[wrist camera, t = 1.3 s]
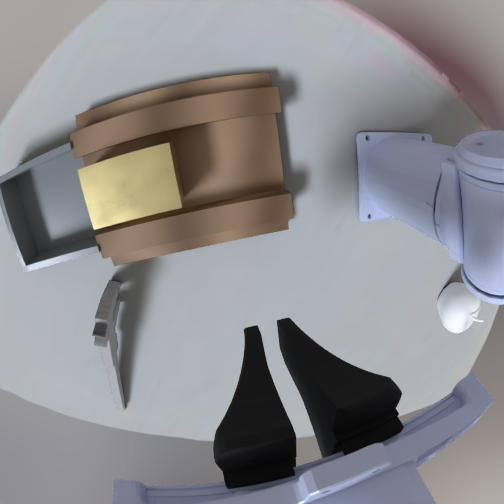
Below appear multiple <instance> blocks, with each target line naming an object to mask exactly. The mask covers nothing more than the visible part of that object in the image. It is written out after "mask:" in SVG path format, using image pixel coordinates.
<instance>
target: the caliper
mask: <svg viewBox="0 0 504 504" xmlns="http://www.w3.org/2000/svg"><path fill="white" fill-rule="evenodd" d="M120 286H121V283H120V282H116V281H111V280H109V282H108V284H107V286H106V288H105V291H104V293H103V295H102V297H101V300H100V303H99V306H98V309H97V313H96V316H95V322H96V324H95V327H94V331H93V334H92V336H95V342H94V345H96V346H99V347H100V351H101V356H102V360H103V364H104V366H106V371H107V375H108V379H109V383H110V387H111V391H112V395H113V398H114V402H115V405H116V408H117V410H122V411H124V410H125V401H124V394H123V389H122V383H121V378H120V371H119V365H118V358H117V349H118V342H117V334H116V332H115V326H116V321H117V316H118V310H119V305H120V297H118V292H119V289H120Z"/></svg>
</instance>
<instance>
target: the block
mask: <svg viewBox="0 0 504 504" xmlns="http://www.w3.org/2000/svg"><path fill="white" fill-rule="evenodd" d="M78 174H79V178H80V182H81V186H82V190H83V194H84V198H85V201H86V205H87V209H88V212H89V215H90V219H91V222H92V225H93V228H94V230H95V229H99V228H103V227H106V226H110V225H114V224H117V223H121V222H125V221H129V220H133V219H137V218H141V217H145V216H149V215H153V214H157V213H162V212H166V211H170V210H175V209H179V208H182V207H183V202H184V192H183V188H182V183H181V178H180V173H179V168H178V163H177V157H176V152H175V147H174V142H169V143H165V144H160V145H156V146H153V147H149V148H145V149H141V150H137V151H134V152H130V153H127V154H124V155H120V156H117V157H114V158H110V159H107V160H104V161H101V162H98V163H95V164H92V165H89V166H87V167H84V168H81V169H78Z"/></svg>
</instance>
